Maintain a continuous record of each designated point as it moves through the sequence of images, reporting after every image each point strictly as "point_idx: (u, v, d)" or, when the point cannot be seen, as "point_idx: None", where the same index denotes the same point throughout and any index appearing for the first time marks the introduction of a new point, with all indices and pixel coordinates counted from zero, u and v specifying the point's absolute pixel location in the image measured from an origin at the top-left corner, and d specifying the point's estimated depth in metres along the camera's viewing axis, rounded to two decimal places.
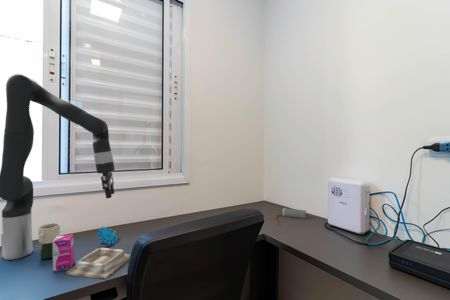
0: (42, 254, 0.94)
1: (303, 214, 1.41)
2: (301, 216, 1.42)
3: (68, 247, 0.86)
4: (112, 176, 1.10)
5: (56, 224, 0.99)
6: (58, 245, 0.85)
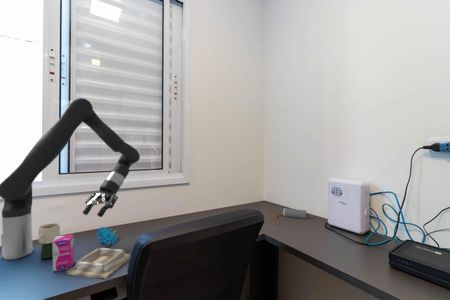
0: (42, 254, 0.94)
1: (303, 214, 1.41)
2: (301, 216, 1.42)
3: (68, 247, 0.86)
4: None
5: (56, 224, 0.99)
6: (58, 245, 0.85)
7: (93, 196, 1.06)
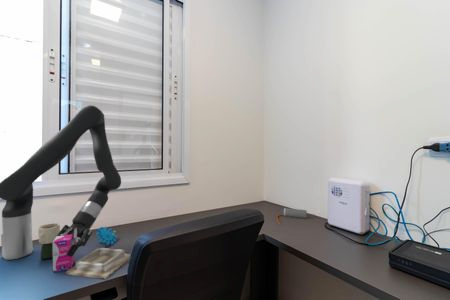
0: (42, 254, 0.94)
1: (304, 214, 1.42)
2: (302, 216, 1.43)
3: (68, 247, 0.86)
4: None
5: (56, 224, 0.99)
6: (58, 245, 0.85)
7: (65, 230, 0.94)
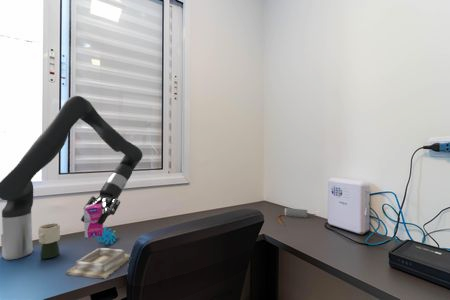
0: (42, 254, 0.94)
1: (305, 213, 1.42)
2: (303, 215, 1.43)
3: (99, 214, 0.87)
4: None
5: (56, 224, 0.99)
6: (89, 212, 0.86)
7: (92, 201, 0.95)
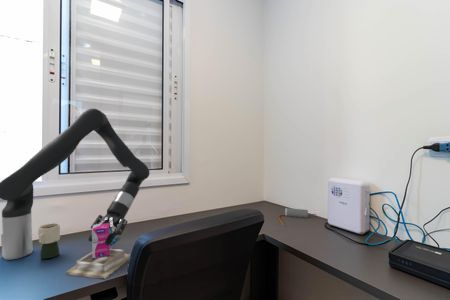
0: (42, 254, 0.94)
1: (306, 213, 1.43)
2: (304, 215, 1.43)
3: (106, 235, 0.88)
4: None
5: (56, 224, 0.99)
6: (97, 233, 0.86)
7: None
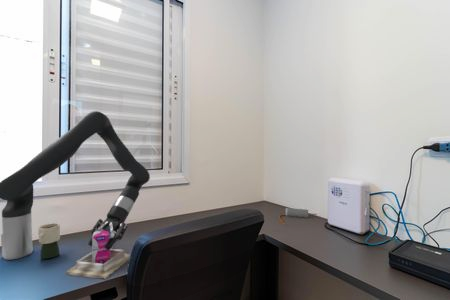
0: (42, 254, 0.94)
1: (306, 213, 1.43)
2: (304, 215, 1.43)
3: None
4: None
5: (56, 224, 0.99)
6: (97, 240, 0.86)
7: (99, 224, 0.95)
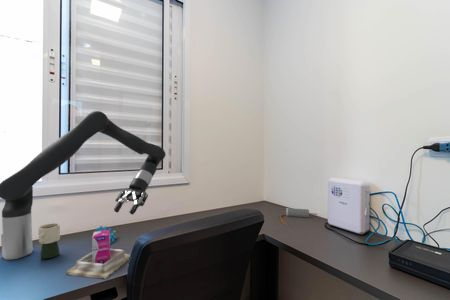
0: (42, 254, 0.94)
1: (307, 213, 1.43)
2: (305, 215, 1.44)
3: (107, 242, 0.88)
4: None
5: (56, 224, 0.99)
6: (97, 240, 0.86)
7: None
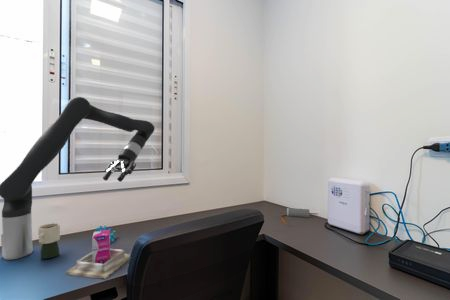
0: (42, 254, 0.94)
1: (307, 213, 1.44)
2: (305, 215, 1.44)
3: (107, 242, 0.88)
4: None
5: (56, 224, 0.99)
6: (97, 240, 0.86)
7: (112, 164, 1.10)
